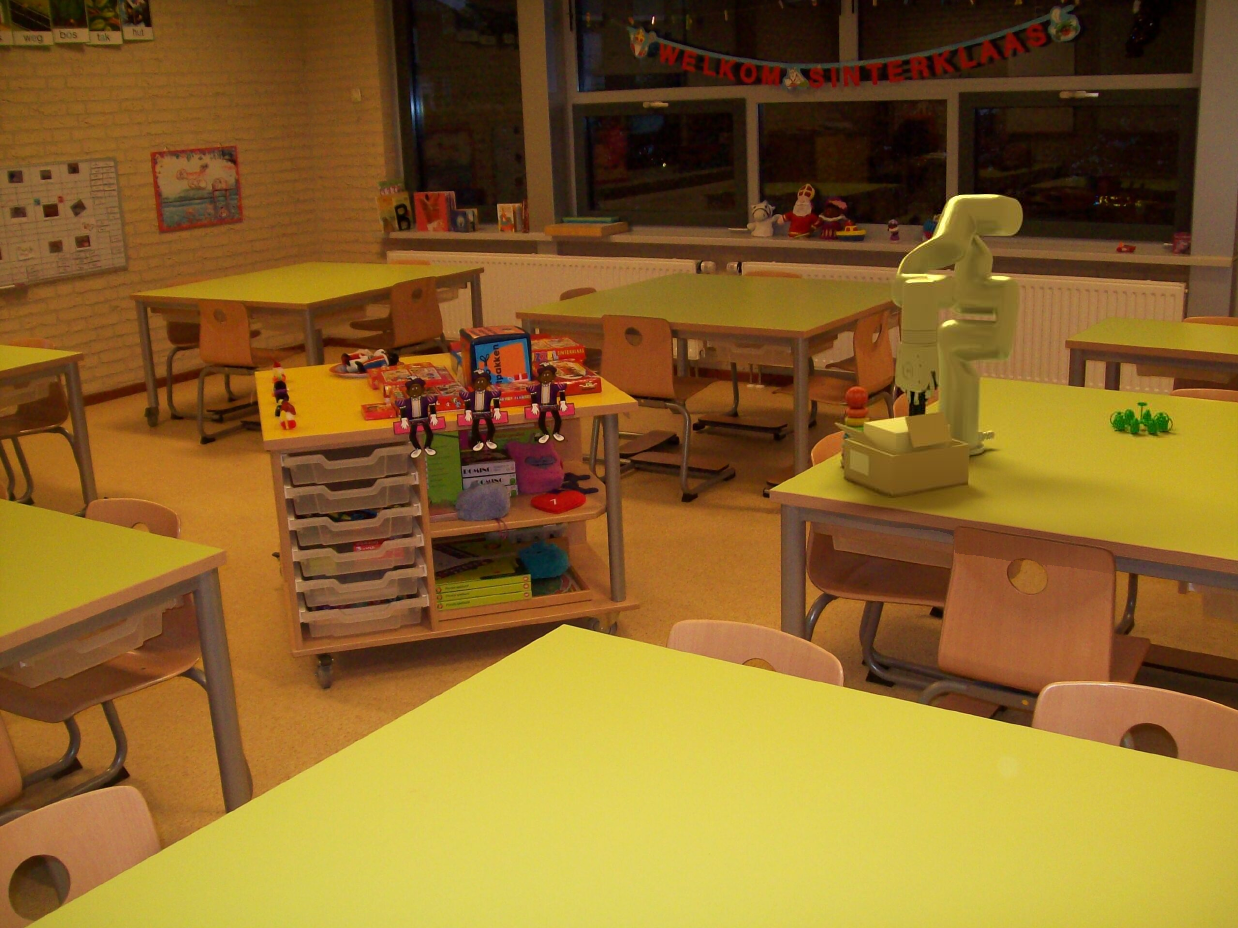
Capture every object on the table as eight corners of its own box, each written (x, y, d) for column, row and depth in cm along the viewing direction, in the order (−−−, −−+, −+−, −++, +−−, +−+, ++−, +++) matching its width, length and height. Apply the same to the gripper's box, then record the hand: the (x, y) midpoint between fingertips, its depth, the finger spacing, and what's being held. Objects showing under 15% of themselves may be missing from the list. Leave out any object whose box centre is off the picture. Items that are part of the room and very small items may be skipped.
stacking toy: (873, 461, 288) (874, 383, 283) (876, 470, 280) (878, 390, 275) (839, 462, 288) (839, 384, 284) (841, 470, 281) (842, 390, 276)
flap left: (913, 447, 259) (914, 447, 259) (904, 417, 261) (905, 416, 260) (951, 441, 263) (952, 441, 263) (942, 411, 264) (944, 411, 264)
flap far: (855, 438, 269) (854, 440, 269) (835, 422, 266) (834, 423, 266) (882, 448, 260) (881, 449, 260) (862, 431, 257) (861, 432, 257)
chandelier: (1163, 439, 299) (1165, 412, 297) (1100, 432, 308) (1102, 406, 306) (1179, 427, 310) (1181, 400, 308) (1118, 421, 319) (1120, 395, 317)
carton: (917, 465, 283) (919, 410, 280) (970, 483, 266) (972, 425, 263) (842, 477, 275) (842, 421, 272) (891, 497, 259) (892, 438, 255)
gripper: (883, 334, 266) (882, 416, 270) (926, 343, 252) (923, 429, 257) (912, 331, 268) (910, 413, 273) (955, 340, 255) (952, 425, 260)
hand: (916, 421), depth 265 cm, fingers closed
